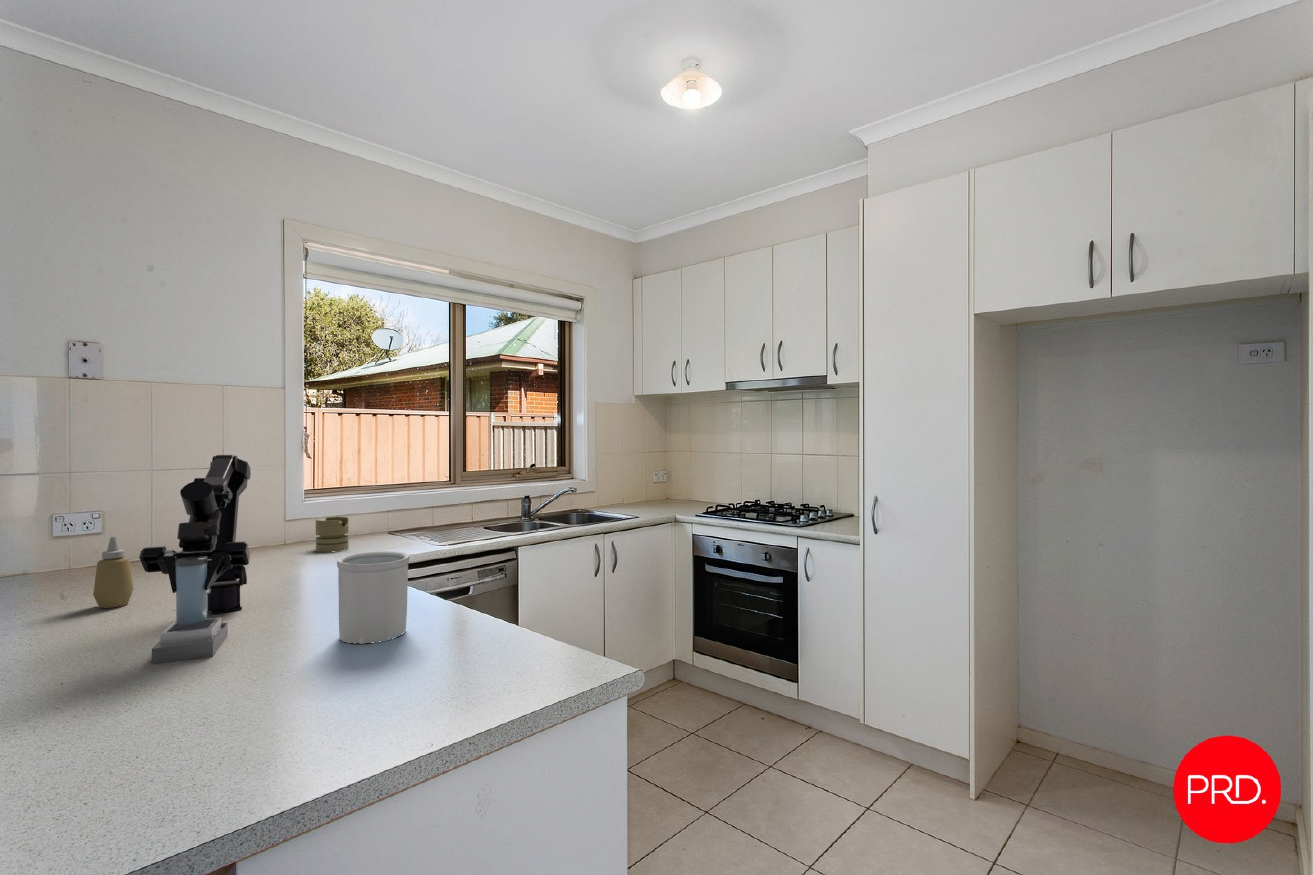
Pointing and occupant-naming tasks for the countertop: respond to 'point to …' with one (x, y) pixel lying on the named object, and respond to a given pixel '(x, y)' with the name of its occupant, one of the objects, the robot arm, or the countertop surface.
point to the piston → (332, 534)
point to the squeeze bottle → (113, 577)
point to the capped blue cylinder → (191, 589)
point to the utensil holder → (372, 596)
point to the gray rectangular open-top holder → (190, 640)
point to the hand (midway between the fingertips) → (190, 590)
